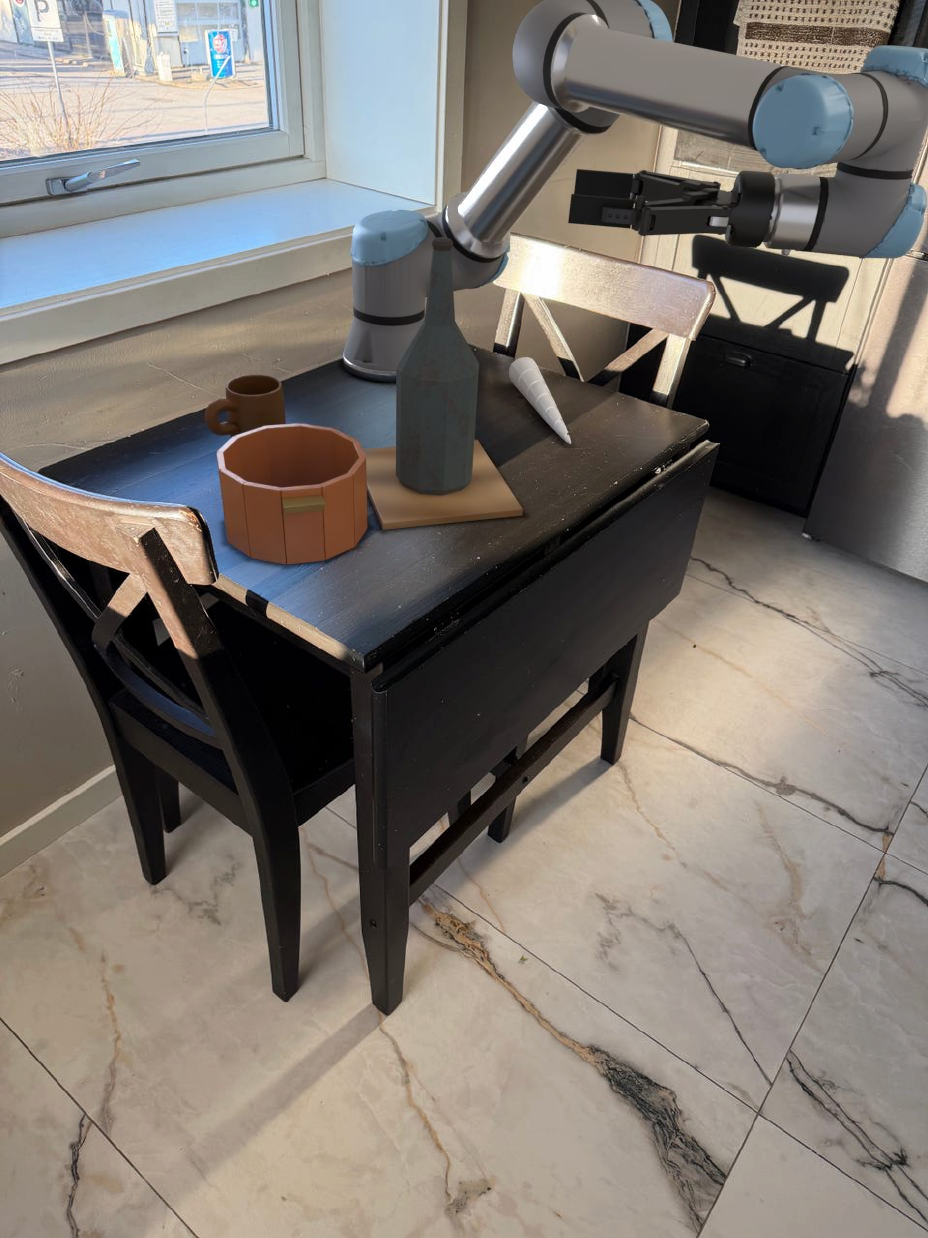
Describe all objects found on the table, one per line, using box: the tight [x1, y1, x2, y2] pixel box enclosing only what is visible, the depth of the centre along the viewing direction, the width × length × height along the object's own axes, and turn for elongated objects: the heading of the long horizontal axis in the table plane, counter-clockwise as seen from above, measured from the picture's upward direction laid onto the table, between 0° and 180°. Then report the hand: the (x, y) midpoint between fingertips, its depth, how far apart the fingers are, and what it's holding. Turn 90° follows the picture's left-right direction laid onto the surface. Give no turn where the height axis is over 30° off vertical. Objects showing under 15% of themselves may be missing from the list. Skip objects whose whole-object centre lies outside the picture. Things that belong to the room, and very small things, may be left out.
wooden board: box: [362, 439, 524, 531], centre depth 120 cm, size 20×18×1 cm
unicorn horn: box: [508, 356, 572, 445], centre depth 139 cm, size 5×24×5 cm, turn 11°
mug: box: [204, 374, 287, 439], centre depth 121 cm, size 12×8×9 cm, turn 142°
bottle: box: [395, 237, 480, 495], centre depth 110 cm, size 10×10×30 cm
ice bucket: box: [215, 422, 368, 566], centre depth 107 cm, size 21×17×10 cm
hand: (572, 194), depth 100 cm, fingers open, 13 cm apart
